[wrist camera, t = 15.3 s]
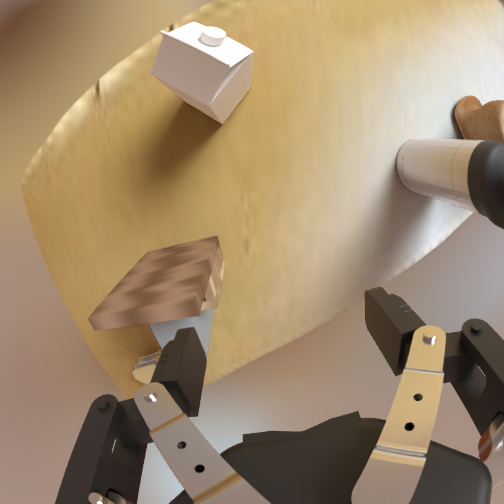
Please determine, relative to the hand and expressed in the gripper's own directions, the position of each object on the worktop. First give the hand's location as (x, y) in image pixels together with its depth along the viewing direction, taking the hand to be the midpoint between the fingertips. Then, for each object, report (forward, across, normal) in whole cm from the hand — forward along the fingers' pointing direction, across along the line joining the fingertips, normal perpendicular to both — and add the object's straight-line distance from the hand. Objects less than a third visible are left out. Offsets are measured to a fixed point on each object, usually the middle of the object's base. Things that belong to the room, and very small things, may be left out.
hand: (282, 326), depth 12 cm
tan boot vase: (+30, -44, -7) cm, 54 cm away
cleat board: (+30, +13, +6) cm, 33 cm away
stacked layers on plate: (+31, +26, +25) cm, 47 cm away
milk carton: (+30, +2, -18) cm, 35 cm away
